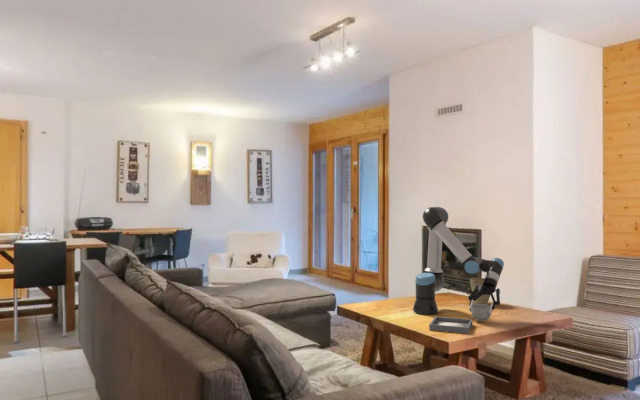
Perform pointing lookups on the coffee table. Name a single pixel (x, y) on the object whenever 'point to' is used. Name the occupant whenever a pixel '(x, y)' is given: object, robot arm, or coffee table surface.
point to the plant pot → (479, 283)
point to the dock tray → (451, 324)
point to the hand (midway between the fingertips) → (479, 311)
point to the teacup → (480, 311)
